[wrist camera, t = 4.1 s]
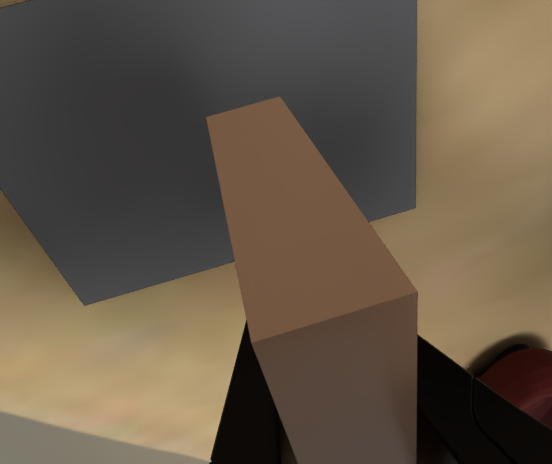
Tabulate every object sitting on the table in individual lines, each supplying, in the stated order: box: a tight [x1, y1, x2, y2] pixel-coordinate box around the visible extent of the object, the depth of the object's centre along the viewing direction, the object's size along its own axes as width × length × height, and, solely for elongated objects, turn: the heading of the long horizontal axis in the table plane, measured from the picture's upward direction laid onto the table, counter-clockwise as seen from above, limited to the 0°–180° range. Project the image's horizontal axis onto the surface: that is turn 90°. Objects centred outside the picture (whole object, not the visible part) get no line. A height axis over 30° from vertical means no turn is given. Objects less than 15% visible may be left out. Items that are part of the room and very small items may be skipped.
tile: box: [206, 97, 418, 464], centre depth 9 cm, size 2×8×6 cm, turn 11°
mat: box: [0, 0, 417, 306], centre depth 18 cm, size 18×13×1 cm
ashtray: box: [478, 344, 552, 429], centre depth 36 cm, size 18×16×5 cm
